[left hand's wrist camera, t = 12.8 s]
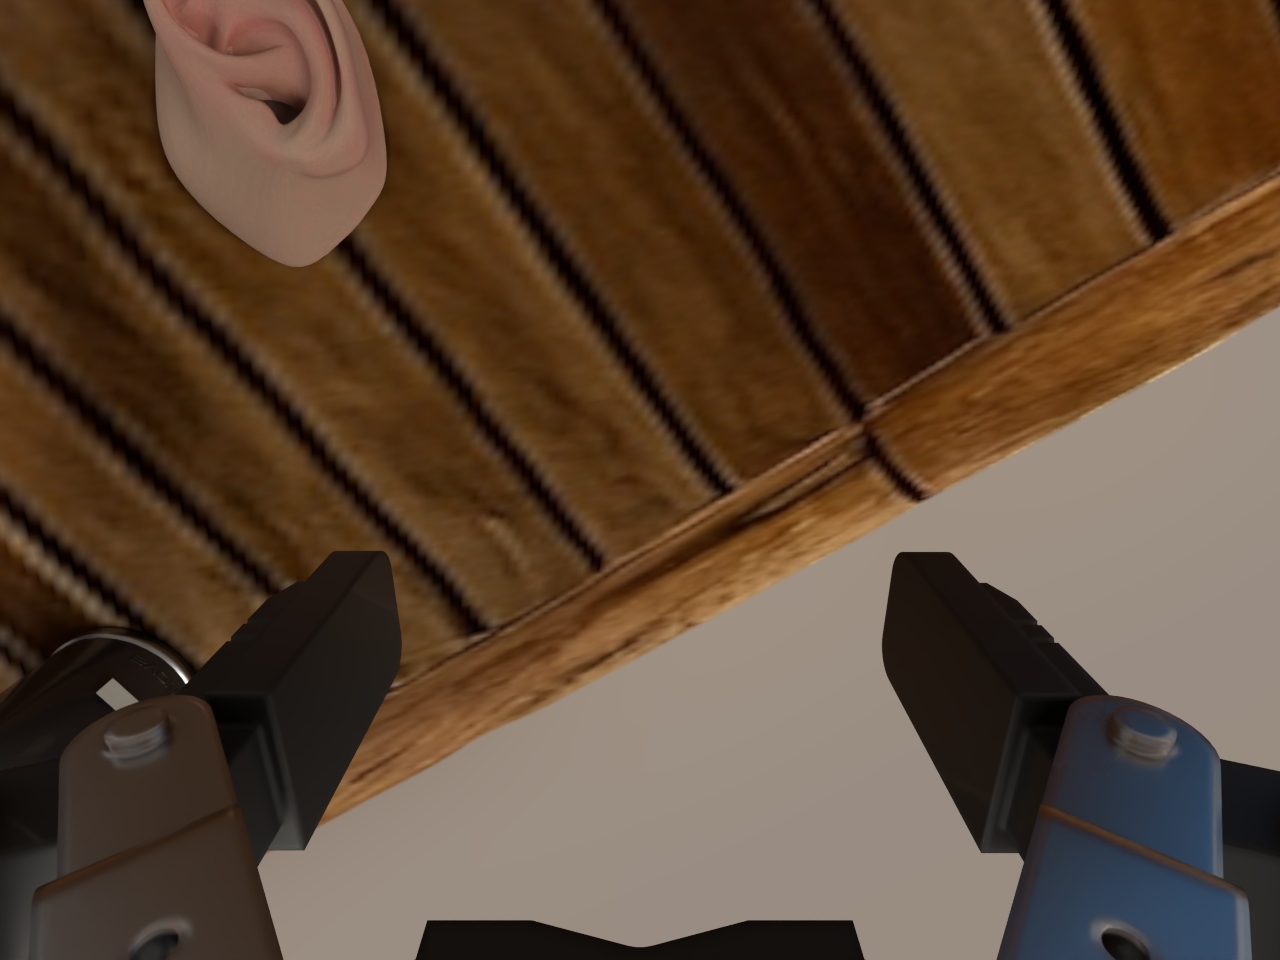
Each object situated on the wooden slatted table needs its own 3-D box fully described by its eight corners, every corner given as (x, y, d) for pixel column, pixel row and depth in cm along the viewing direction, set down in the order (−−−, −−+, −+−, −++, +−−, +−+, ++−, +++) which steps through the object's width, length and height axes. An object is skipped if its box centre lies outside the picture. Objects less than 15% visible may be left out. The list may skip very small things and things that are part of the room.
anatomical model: (317, 303, 32) (61, 189, 30) (350, 294, 36) (123, 191, 34) (408, -5, 28) (115, -158, 26) (435, 21, 32) (180, -112, 30)
